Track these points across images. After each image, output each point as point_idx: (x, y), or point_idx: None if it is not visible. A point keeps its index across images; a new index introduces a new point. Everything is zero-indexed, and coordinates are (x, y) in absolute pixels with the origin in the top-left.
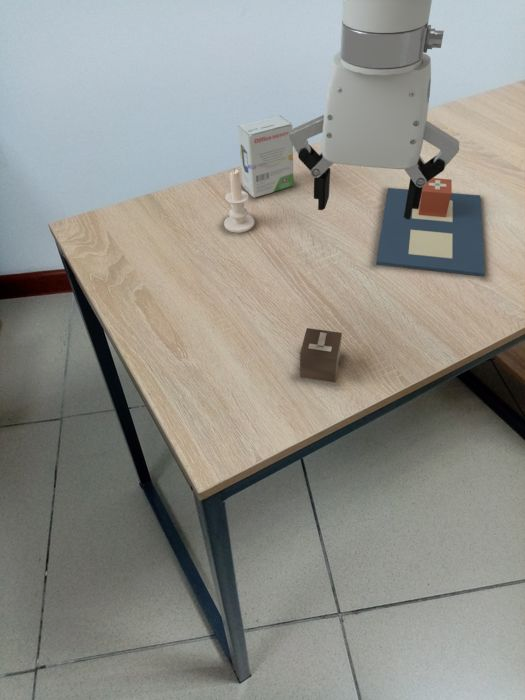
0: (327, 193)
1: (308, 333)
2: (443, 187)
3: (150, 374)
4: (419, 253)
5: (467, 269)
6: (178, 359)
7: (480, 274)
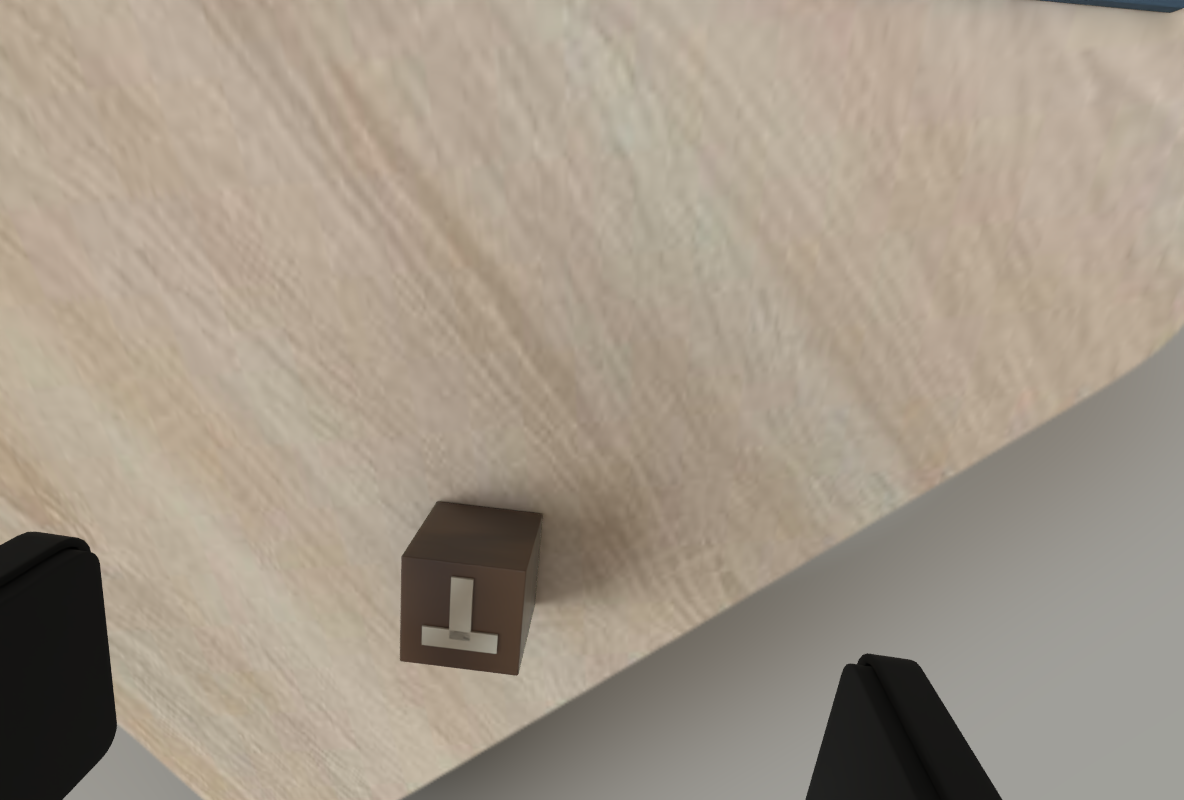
0: (26, 690)
1: (412, 579)
2: None
3: None
4: None
5: None
6: None
7: (1159, 8)
